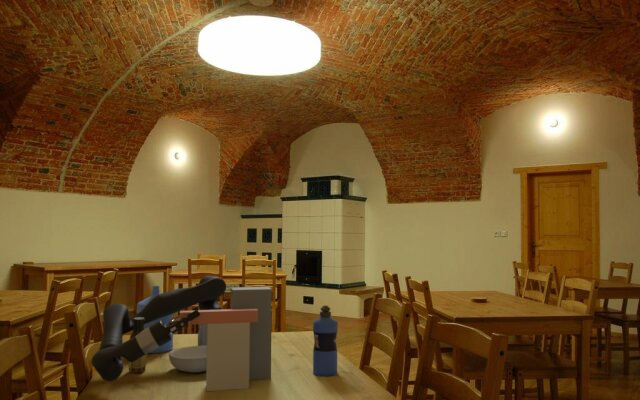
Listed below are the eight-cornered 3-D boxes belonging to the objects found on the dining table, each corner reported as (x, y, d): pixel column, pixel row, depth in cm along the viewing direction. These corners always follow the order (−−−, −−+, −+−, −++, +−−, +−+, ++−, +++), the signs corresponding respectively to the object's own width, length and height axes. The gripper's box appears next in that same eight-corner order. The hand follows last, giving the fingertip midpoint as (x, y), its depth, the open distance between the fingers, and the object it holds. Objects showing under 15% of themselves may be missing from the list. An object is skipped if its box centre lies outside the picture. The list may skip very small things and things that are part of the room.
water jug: (153, 355, 229) (154, 289, 230) (128, 351, 237) (129, 286, 238) (180, 348, 242) (181, 285, 243) (156, 344, 250) (157, 283, 252)
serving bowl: (177, 362, 218) (177, 345, 218) (229, 363, 217) (229, 345, 217) (160, 376, 197) (161, 357, 197) (217, 377, 196) (218, 358, 197)
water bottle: (334, 369, 207) (334, 303, 209) (340, 376, 198) (340, 307, 200) (310, 370, 205) (310, 304, 207) (315, 377, 196) (315, 308, 198)
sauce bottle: (149, 369, 205) (152, 317, 205) (138, 374, 200) (142, 321, 199) (134, 366, 208) (138, 315, 208) (123, 371, 202) (127, 318, 202)
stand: (206, 391, 179) (208, 294, 181) (205, 376, 197) (206, 288, 199) (275, 386, 185) (276, 292, 187) (267, 372, 202) (268, 286, 204)
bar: (179, 324, 179) (179, 312, 180) (179, 322, 183) (180, 310, 183) (257, 321, 186) (258, 310, 186) (256, 319, 189) (256, 308, 190)
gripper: (146, 331, 172) (193, 303, 176) (149, 323, 186) (192, 298, 190) (158, 351, 172) (204, 323, 176) (160, 342, 186) (203, 316, 190)
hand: (198, 310), depth 183 cm, fingers open, 6 cm apart
